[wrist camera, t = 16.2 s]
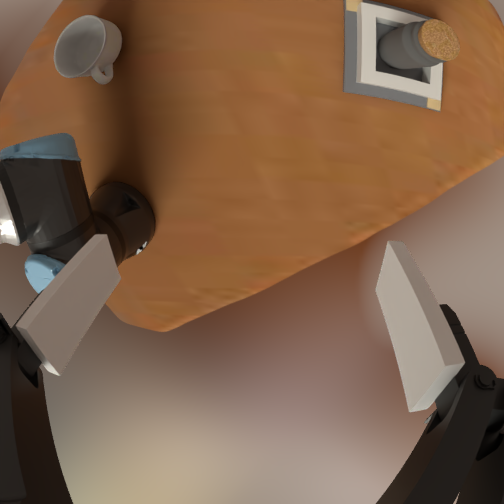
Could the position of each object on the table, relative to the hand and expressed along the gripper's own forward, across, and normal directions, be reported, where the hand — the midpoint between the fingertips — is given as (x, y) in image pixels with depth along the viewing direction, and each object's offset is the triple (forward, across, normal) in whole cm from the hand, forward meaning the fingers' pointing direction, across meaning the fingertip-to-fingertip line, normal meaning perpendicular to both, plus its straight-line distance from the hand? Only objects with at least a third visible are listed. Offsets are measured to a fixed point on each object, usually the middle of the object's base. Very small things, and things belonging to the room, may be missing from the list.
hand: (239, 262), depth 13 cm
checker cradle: (+33, -19, -15) cm, 41 cm away
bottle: (+32, -18, -15) cm, 40 cm away
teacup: (+34, +27, -18) cm, 47 cm away
